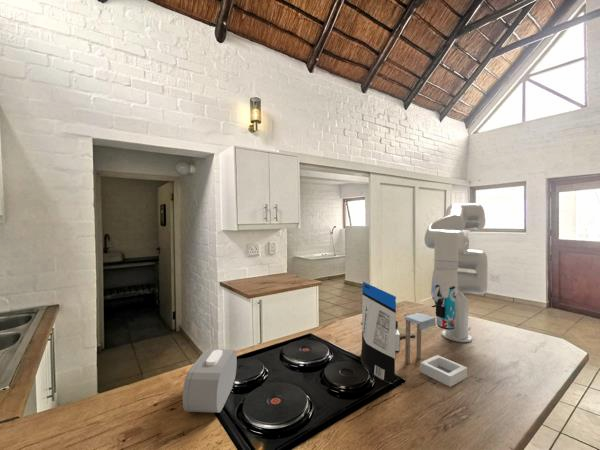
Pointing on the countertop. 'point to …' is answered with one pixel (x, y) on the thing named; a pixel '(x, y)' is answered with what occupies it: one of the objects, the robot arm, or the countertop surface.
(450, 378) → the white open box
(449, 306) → the beverage can
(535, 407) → the countertop surface
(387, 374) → the protein powder
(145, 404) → the countertop surface
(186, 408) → the alarm clock
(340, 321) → the countertop surface
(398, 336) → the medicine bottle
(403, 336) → the dish towel
